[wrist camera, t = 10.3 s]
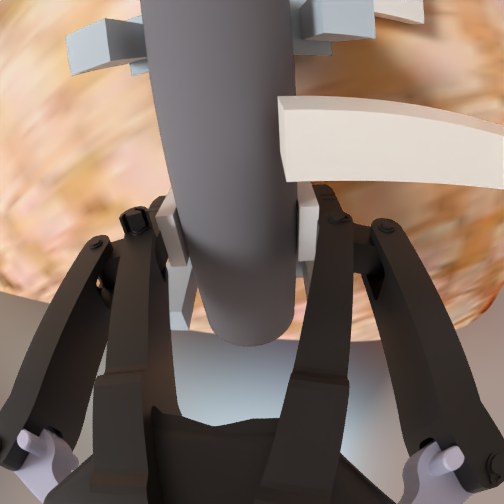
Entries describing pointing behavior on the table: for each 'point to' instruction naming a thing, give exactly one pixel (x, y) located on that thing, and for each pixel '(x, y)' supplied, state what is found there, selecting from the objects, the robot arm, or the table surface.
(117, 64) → the cradle
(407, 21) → the tray
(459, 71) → the table surface
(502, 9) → the table surface
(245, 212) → the gray cylinder
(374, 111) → the white l-shaped hook
